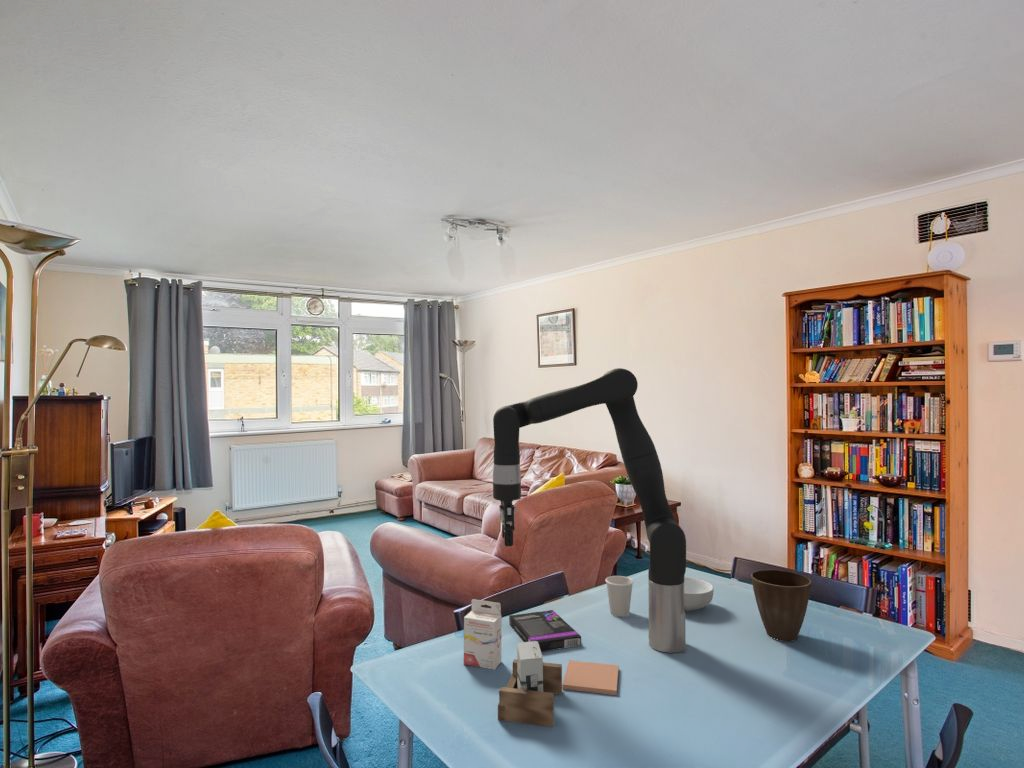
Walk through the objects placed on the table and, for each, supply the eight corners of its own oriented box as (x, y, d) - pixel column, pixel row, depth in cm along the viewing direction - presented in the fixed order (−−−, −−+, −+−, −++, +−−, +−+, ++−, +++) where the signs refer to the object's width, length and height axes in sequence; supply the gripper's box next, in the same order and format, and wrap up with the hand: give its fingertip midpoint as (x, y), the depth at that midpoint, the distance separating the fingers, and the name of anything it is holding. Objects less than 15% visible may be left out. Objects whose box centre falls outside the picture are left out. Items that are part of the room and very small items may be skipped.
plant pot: (752, 642, 152) (751, 582, 152) (751, 621, 165) (750, 566, 166) (814, 651, 146) (814, 589, 146) (808, 629, 160) (807, 572, 160)
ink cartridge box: (462, 665, 139) (462, 605, 140) (470, 656, 144) (470, 598, 144) (495, 670, 137) (495, 609, 137) (502, 661, 141) (502, 602, 142)
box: (581, 649, 150) (553, 619, 169) (581, 635, 150) (553, 607, 169) (532, 656, 146) (508, 625, 164) (532, 642, 146) (508, 613, 164)
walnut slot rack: (561, 691, 127) (561, 664, 127) (552, 727, 113) (552, 696, 113) (512, 685, 129) (512, 659, 130) (497, 720, 116) (497, 690, 116)
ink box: (516, 694, 126) (516, 640, 126) (538, 693, 126) (538, 640, 126) (520, 717, 117) (520, 659, 117) (544, 715, 117) (543, 658, 118)
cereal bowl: (721, 617, 169) (721, 593, 169) (665, 617, 169) (665, 593, 169) (703, 596, 186) (703, 575, 186) (652, 596, 186) (652, 575, 186)
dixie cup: (613, 605, 178) (612, 573, 178) (637, 611, 173) (637, 578, 173) (600, 614, 171) (600, 581, 172) (626, 620, 166) (626, 586, 167)
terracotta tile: (618, 669, 137) (618, 665, 137) (616, 695, 125) (616, 690, 125) (569, 664, 140) (569, 660, 140) (562, 689, 128) (562, 684, 128)
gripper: (523, 484, 145) (524, 548, 144) (518, 476, 159) (518, 534, 159) (494, 485, 144) (495, 549, 144) (491, 477, 158) (491, 535, 158)
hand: (507, 541), depth 151 cm, fingers open, 8 cm apart
